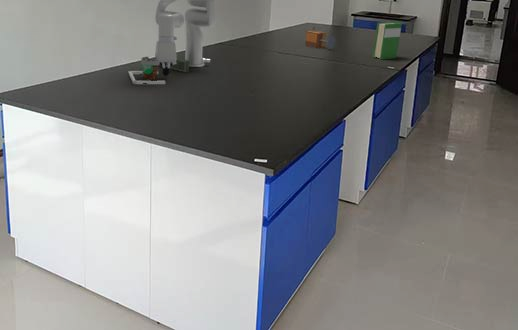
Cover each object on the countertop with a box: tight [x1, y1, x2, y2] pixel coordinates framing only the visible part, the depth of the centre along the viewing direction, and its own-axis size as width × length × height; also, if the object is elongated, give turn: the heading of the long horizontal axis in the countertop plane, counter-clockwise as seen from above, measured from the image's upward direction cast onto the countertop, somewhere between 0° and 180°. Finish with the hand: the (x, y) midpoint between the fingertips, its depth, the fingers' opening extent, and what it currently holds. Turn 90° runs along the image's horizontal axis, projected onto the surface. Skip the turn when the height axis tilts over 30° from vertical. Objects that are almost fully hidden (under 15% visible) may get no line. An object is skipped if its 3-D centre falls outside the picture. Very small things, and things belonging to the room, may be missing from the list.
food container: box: [140, 56, 159, 81], centre depth 283 cm, size 12×6×10 cm, turn 34°
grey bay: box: [128, 70, 166, 85], centre depth 284 cm, size 15×22×2 cm
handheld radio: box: [164, 57, 190, 73], centre depth 312 cm, size 7×3×25 cm
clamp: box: [304, 26, 336, 50], centre depth 417 cm, size 11×20×14 cm, turn 46°
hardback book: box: [371, 21, 403, 60], centre depth 395 cm, size 18×7×24 cm, turn 130°
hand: (165, 75), depth 287 cm, fingers closed
